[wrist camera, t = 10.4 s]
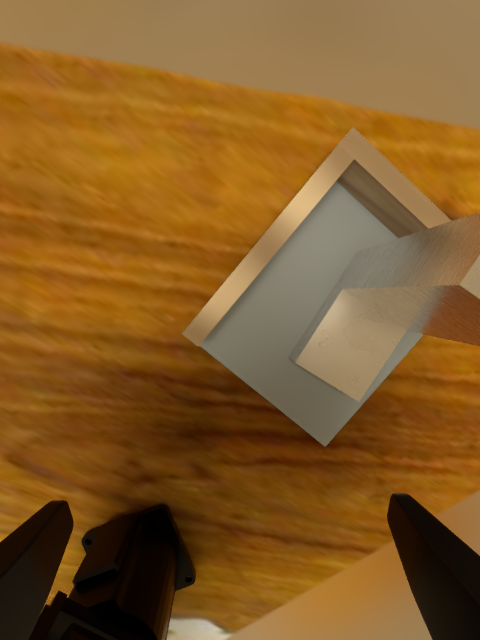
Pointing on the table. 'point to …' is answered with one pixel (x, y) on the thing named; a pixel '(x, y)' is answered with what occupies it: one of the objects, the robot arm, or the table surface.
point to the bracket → (395, 303)
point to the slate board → (301, 315)
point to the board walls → (342, 166)
